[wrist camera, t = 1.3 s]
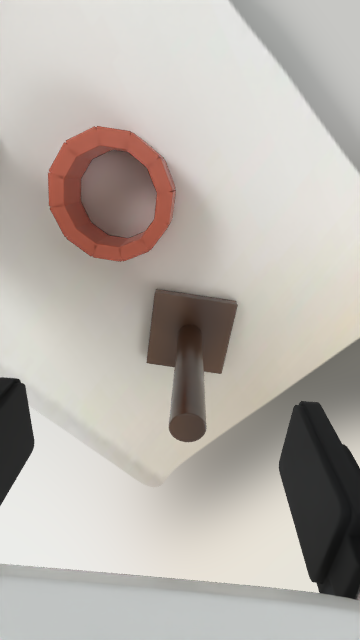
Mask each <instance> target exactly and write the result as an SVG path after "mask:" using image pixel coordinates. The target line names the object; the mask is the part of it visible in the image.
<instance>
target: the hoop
mask: <svg viewBox="0 0 360 640" xmlns="http://www.w3.org/2000/svg"><path fill="white" fill-rule="evenodd" d="M111 150H118V151H124V152H129V153H130V154H131V155H132V156H133V157H135V158H136V159H137V160H138V161H139V162H141V163H142V164H143V165H144V166H145V167H146V168H147V169H148V172H149V174H150V177H151V179H152V182H153V184H154V187H155V189H156V192H157V199H156V208H155V218H154V220H153V222H152V223H151V224H150V226H149V227H148V228H147V230H146V231H145V232H142V233H140V234H137V235H135V236H133V237H130V238H123V237H117V236H110V235H107V234H106V233H105V232H103V231H102V230H101V229H99V228H98V227H97V226H95V225H94V224H93V223H91V221H90V219H89V217H88V215H87V213H86V211H85V209H84V207H83V205H82V203H81V177H82V176H83V174H84V172H85V171H86V169H87V167H88V166H89V164H90V162H91V161H92V159H94V158H96V157H98V156H100V155H102V154H104V153H106V152H108V151H111ZM49 172H51V173H48V186H49V206H50V210H51V212H52V214H53V216H54V217H55V219H56V221H57V223H58V225H59V227H60V229H61V231H62V233H63V234H64V236H65V237H67V239H68V240H69V241H70V242H72V243H73V244H75V245H76V246H77V247H79V248H80V249H81V250H83V251H84V252H86V253H87V254H88V255H90V256H93V257H94V258H101V259H107V260H114V261H120V262H121V261H122V260H123V261H126V260H128V259H131V258H133V257H136V256H138V255H141V254H143V253H146V252H148V251H149V250H151V249H152V248H153V246H154V245H155V244H156V242H157V241H158V240H159V238H160V237H161V236H162V234H163V233H164V232H165V230H166V229H167V228H168V226H169V224H170V222H171V219H172V217H173V209H174V201H175V193H176V190H174V189H175V185H174V182H173V180H172V177H171V174H170V172H169V169H168V166H167V164H166V161H165V160H164V158H163V157H162V156H161V155H160V154H159V153H157V152H156V151H155V150H154V149H153V148H152V147H150V146H149V145H148V144H147V143H146V142H145V141H144V140H142V139H141V138H140V137H138V136H137V135H135V134H134V133H132V132H130V131H125V130H119V129H113V128H107V127H100V126H97V127H95V126H94V127H92V128H90V129H88V130H86V131H84V132H82V133H80V134H78V135H76V136H74V137H72V138H70V139H68V140H66V143H65V142H64V144H63V146H62V147H61V149H60V151H59V153H58V155H57V156H56V158H55V160H54V162H53V164H52V166H51V167H50V169H49Z"/></svg>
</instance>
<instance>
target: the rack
mask: <svg viewBox="0 0 360 640" xmlns="http://www.w3.org/2000/svg"><path fill="white" fill-rule="evenodd" d="M236 309H237V302H236V301H232V300H225V299H218V298H212V297H205V296H198V295H192V294H185V293H178V292H172V291H165V290H158V289H156V291H155V296H154V305H153V313H152V322H151V330H150V339H149V347H148V356H147V363H150V364H157V365H163V366H170V367H175V370H174V380H173V390H172V399H171V409H170V419H169V431H170V433H171V434H172V436H173V437H174V438H176V439H177V440H180V441H183V442H193V441H196V440H199V439H200V438H201V437H202V436H203V435H204V434H205V432H206V411H205V390H204V371H205V372H212V373H219V374H221V373H222V369H223V364H224V360H225V356H226V352H227V347H228V343H229V339H230V335H231V331H232V326H233V322H234V318H235V314H236Z"/></svg>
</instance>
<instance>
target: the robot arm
mask: <svg viewBox="0 0 360 640" xmlns="http://www.w3.org/2000/svg"><path fill="white" fill-rule="evenodd" d="M33 448H34V436H33V430H32V424H31V419H30V412H29V406H28V400H27V394H26V388H25V385H24V384H23V383H21V382H20V380H19V379H16V378H3V377H2V378H0V505H1V504H2V502H3V500H4V499H5V497H6V495H7V493H8V492H9V490H10V488H11V487H12V485H13V483H14V482H15V480H16V478H17V476H18V475H19V473H20V471H21V470H22V468H23V466H24V465H25V463H26V461H27V460H28V458H29V456H30V454H31V453H32V451H33ZM279 471H280V475H281V479H282V482H283V486H284V489H285V493H286V496H287V500H288V503H289V507H290V511H291V514H292V517H293V521H294V524H295V528H296V532H297V535H298V538H299V542H300V546H301V549H302V553H303V556H304V559H305V563H306V567H307V570H308V574H309V577H310V579H311V581H312V582H317V586H318V589H319V592H320V593H313V592H305V591H296V590H287V589H277V588H270V587H260V586H250V585H238V584H227V583H217V582H205V581H195V580H184V579H174V578H162V577H151V576H140V575H127V574H117V573H105V572H93V571H82V570H70V569H57V568H45V567H33V566H20V565H7V564H0V640H360V468H359V466H358V464H357V463H356V461H355V459H354V457H353V455H352V454H351V452H350V450H349V449H348V448H347V446H345V445H343V444H342V443H341V441H340V440H339V438H338V436H337V434H336V432H335V430H334V429H333V427H332V425H331V423H330V421H329V419H328V418H327V416H326V414H325V412H324V410H323V408H322V407H321V405H320V404H319V403H318V402H306V401H301V402H300V403H299V405H295V406H294V408H293V412H292V415H291V420H290V423H289V427H288V431H287V434H286V438H285V442H284V446H283V449H282V453H281V457H280V461H279Z"/></svg>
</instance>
